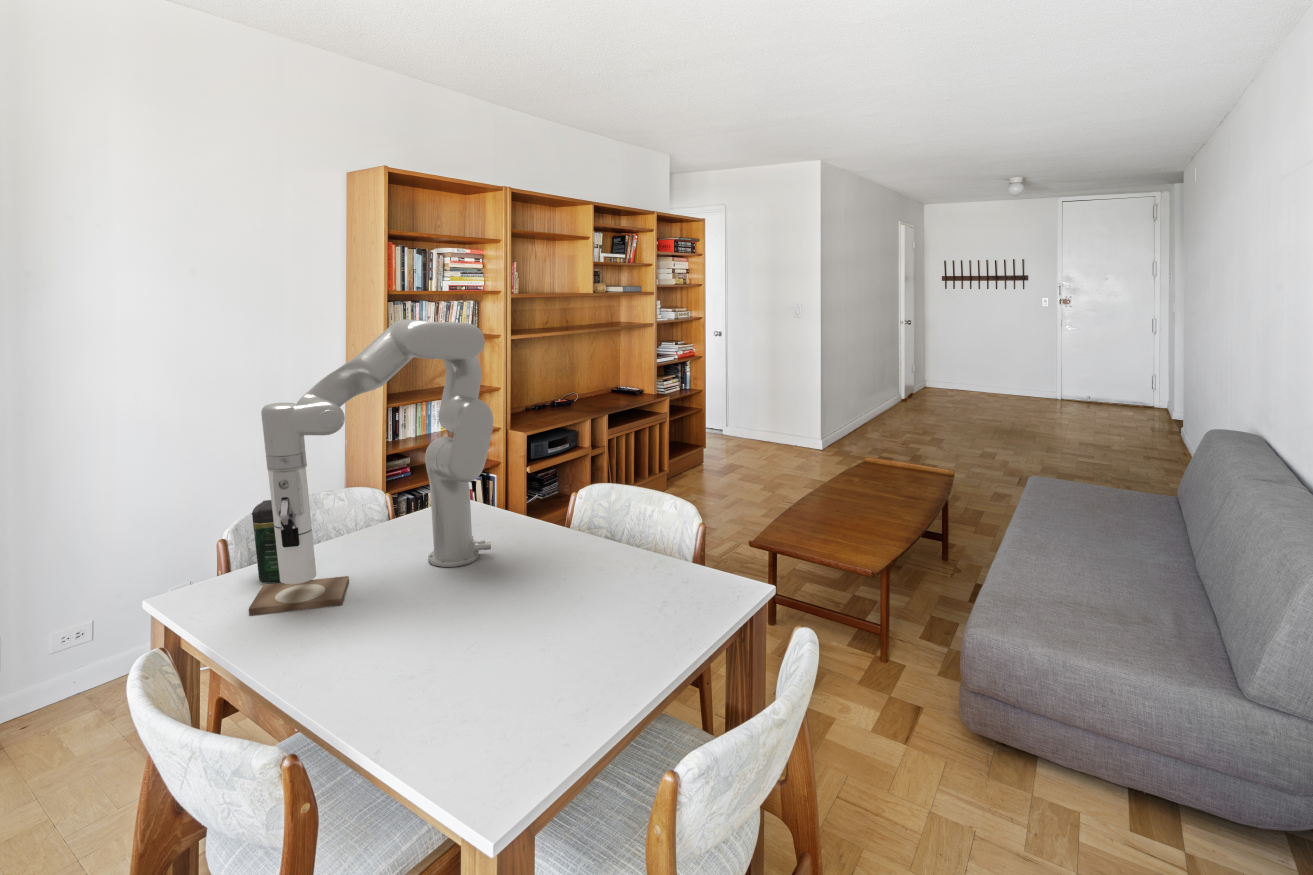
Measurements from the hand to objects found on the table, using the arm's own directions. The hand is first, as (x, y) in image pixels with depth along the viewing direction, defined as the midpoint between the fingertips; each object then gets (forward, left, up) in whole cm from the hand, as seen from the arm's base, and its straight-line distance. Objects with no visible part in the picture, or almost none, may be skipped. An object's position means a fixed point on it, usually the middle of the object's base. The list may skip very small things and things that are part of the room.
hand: (294, 539), depth 152 cm
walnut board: (0, -1, -14) cm, 14 cm away
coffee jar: (+8, -16, -14) cm, 23 cm away
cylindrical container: (0, 0, -9) cm, 9 cm away
